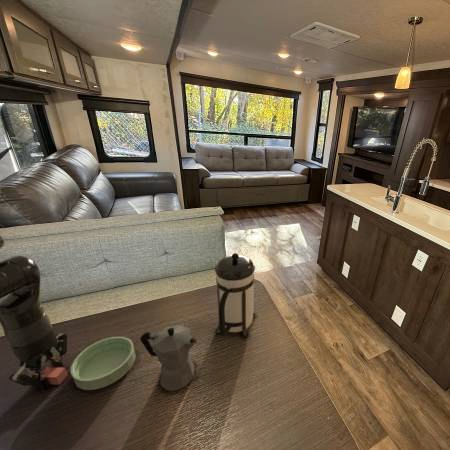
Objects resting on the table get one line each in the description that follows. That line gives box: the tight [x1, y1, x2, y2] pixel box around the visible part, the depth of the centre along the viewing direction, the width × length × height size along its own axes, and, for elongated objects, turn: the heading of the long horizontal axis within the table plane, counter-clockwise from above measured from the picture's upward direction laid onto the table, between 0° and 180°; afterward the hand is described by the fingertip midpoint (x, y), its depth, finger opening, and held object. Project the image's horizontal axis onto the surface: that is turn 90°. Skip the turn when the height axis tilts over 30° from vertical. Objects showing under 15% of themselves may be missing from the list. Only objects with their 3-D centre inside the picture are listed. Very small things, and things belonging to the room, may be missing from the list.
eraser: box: [37, 366, 69, 386], centre depth 67 cm, size 6×3×3 cm, turn 93°
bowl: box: [70, 336, 137, 391], centre depth 71 cm, size 14×14×4 cm
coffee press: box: [214, 252, 256, 338], centre depth 84 cm, size 17×16×30 cm
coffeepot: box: [140, 324, 198, 392], centre depth 68 cm, size 15×9×18 cm, turn 86°
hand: (51, 379), depth 68 cm, fingers open, 3 cm apart
